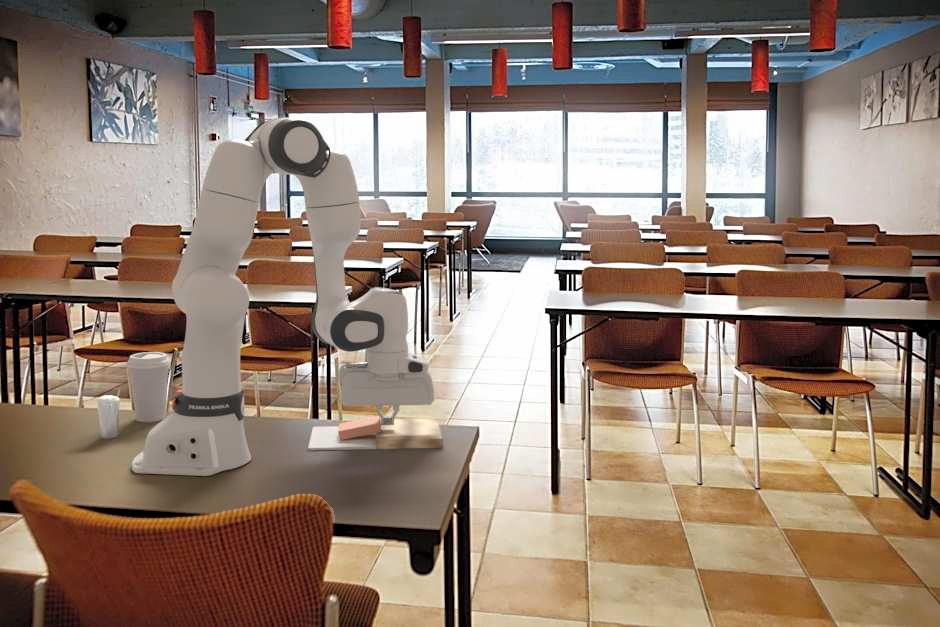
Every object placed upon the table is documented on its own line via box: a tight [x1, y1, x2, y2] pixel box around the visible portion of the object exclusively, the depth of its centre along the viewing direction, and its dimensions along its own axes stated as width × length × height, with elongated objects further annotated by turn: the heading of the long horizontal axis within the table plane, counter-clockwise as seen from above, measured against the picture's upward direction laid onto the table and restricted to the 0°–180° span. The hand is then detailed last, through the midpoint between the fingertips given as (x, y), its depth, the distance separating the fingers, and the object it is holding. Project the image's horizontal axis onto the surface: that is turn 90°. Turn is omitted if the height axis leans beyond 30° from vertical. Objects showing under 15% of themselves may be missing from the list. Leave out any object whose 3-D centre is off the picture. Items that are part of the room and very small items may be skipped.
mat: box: [307, 425, 377, 451], centre depth 198 cm, size 14×16×1 cm
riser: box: [375, 417, 443, 450], centre depth 199 cm, size 14×16×2 cm
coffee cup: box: [126, 351, 171, 423], centre depth 210 cm, size 10×10×15 cm
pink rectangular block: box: [338, 415, 381, 440], centre depth 198 cm, size 9×6×2 cm, turn 95°
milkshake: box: [96, 388, 121, 440], centre depth 196 cm, size 5×5×10 cm
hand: (387, 424), depth 198 cm, fingers closed
